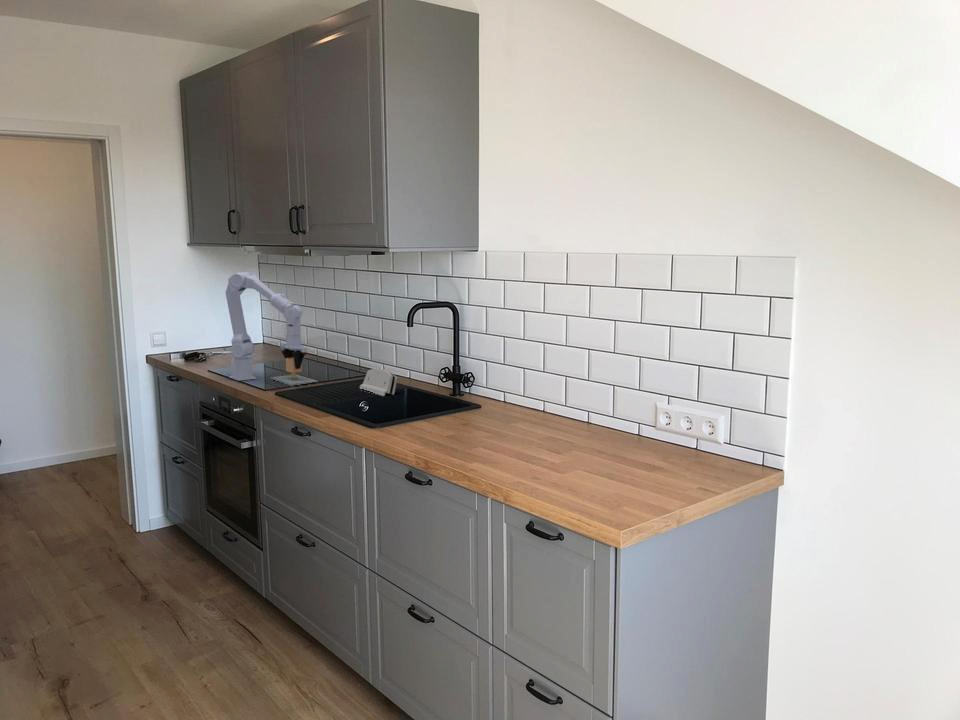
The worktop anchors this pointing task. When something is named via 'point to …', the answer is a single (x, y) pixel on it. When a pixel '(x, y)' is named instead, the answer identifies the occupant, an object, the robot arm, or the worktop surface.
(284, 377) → the board
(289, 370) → the tan wooden cube
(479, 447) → the worktop surface
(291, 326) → the robot arm
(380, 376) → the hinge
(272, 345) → the worktop surface
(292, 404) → the worktop surface
